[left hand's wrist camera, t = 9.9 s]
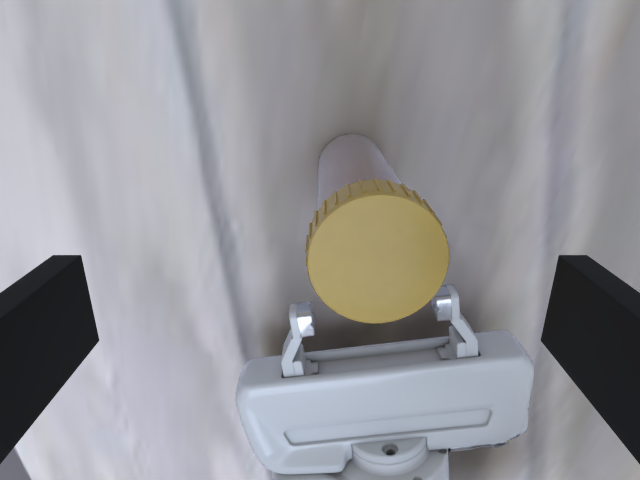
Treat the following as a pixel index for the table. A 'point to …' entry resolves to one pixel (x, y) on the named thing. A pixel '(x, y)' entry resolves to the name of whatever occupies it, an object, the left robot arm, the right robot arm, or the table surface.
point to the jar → (350, 164)
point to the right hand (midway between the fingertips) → (371, 298)
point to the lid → (376, 252)
